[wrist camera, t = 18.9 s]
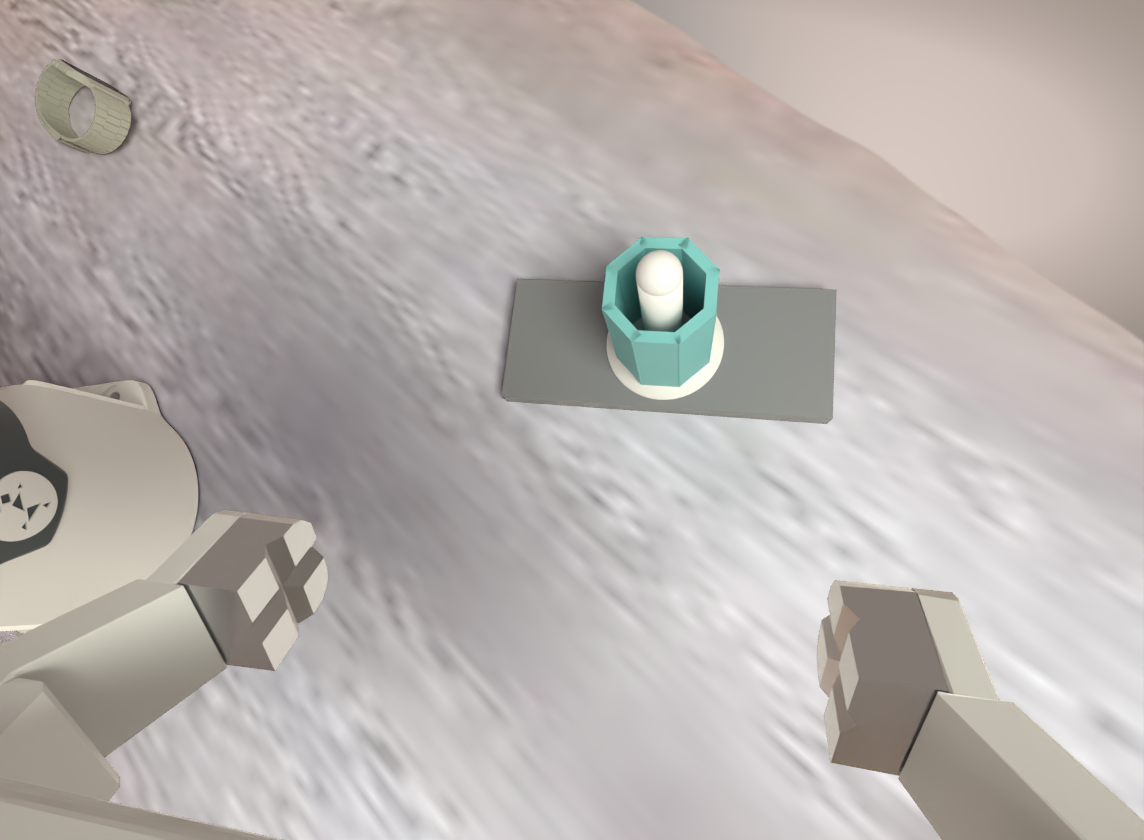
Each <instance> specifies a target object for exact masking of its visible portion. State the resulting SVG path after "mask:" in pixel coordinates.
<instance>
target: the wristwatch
mask: <svg viewBox="0 0 1144 840" xmlns="http://www.w3.org/2000/svg"><path fill="white" fill-rule="evenodd" d="M83 86H87V87H88V88H90V89H91V92H92V94H93V96H94V100H95V115H94V119H93V122H92V124H91V126H90V128H89V130H88V131H87V133H85V134H84V135H83V136H81V137H78V136H77V135H76V134H75V132H74V130H73V129H72V126H71V123H70V118H69V114H68V109H69V105H70V102H71V100H72V97H73V96H74V95H75V93H76V92H77V91H78V90H79V89H80V88H82V87H83ZM131 103H132V102H131V101H129V98H128V97H127V96H125V95H124V94H122V93H121V92H119V91H118V90H117V89H115V88H114V87H112V86H110V85H109V84H107V83H105V82H103V81H101V80H99V79H98V78H96V77H94V76H92V75H90V74H88V73H86V72H84V71H82V70H80V69H78V68H77V67H75V66H73V65H71V64H69V63H67V62H65V61H63V60H61V59H59V60H57V61H56V60H53V61H52V63H51V64H49V65H47V67H46V68H45V69H44V70H43V71H42V73H41V75H40V77H39V81H38V83H37V88H36V95H35V104H36V108H37V109H36V111H37V114H38V117H39V119H40V122H41V123H42V125H43V126H44V127H45V129H46V130H47V131H48V133H49V134H50V135H51V136H52V137H53V138H54V139H55V140H57V141H59V142H62V143H64V144H66V145H69V146H71V147H74V148H76V149H79V150H81V151H83V152H86V153H91V151H92V152H95V153H97V154H107V153H110V152H112V151H114V150H115V149H117V147H119V146H120V145H121V144H122V142H123V141H124V139H125V138H126V137H125V136H127V134H128V132H129V128H130V125H131V124H130V123H131V111H130V108H129V107H130V105H131Z"/></svg>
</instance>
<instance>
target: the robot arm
mask: <svg viewBox="0 0 1144 840" xmlns="http://www.w3.org/2000/svg"><path fill="white" fill-rule="evenodd" d="M119 397H120V399H119ZM118 399H119V400H118ZM197 508H198V480H197V474H196V469H195V466H194V462H193V459H192V457H191V454H190V452H189V450H188V448H187V446H186V445H185V443H184V441H183V440H182V439H181V437H180V436H179V435H178V434H177V432H176V431H175V430H174V429H173V428H172V427H171V426H170V425H169V424H168V423H167V422H166V421H165V420H164V419H163V417H162V416H161V414H160V411H159V407H158V404H157V401H156V398H155V395H154V393H153V391H152V389H151V388H150V386H149V385H148V384H146V383H144V382H139V381H134V380H125V381H118V382H111V383H104V384H97V385H90V386H83V387H76V388H67V387H63V386H59V385H55V384H50V383H46V382H41V381H35V380H27V381H25V382H24V383H23V384H22V385H9V386H4V387H0V631H12V630H16V631H19V632H21V633H23V634H22V635H19V636H17V637H15V638H13V639H11V640H9V641H7V642H5V643H3V644H1V645H0V840H283V839H278V838H274V837H269V836H265V835H260V834H256V833H251V832H246V831H242V830H237V829H233V828H228V827H224V826H219V825H215V824H210V823H205V822H201V821H196V820H192V819H187V818H183V817H178V816H174V815H169V814H164V813H160V812H155V811H151V810H146V809H142V808H137V807H132V806H128V805H123V804H119V803H114V802H110V801H109V800H110V799H111V798H112V796H113V795H114V794H115V792H116V791H117V790H118V788H119V787H120V777H119V775H118V774H117V773H116V772H115V770H114V769H113V768H112V767H111V765H110V764H109V763H108V762H107V760H106V759H105V758H104V757H106V756H107V755H109V754H110V753H111V752H113V751H114V750H115V749H117V748H118V747H119V746H121V745H122V744H123V743H125V742H126V741H128V740H129V739H130V738H132V737H133V736H134V735H136V734H137V733H138V732H140V731H141V730H143V729H144V728H145V727H147V726H148V725H149V724H151V723H152V722H153V721H155V720H156V719H158V718H159V717H160V716H162V715H163V714H164V713H166V712H167V711H168V710H170V709H171V708H173V707H174V706H175V705H177V704H178V703H179V702H181V701H182V700H183V699H185V698H186V697H188V696H189V695H190V694H192V693H193V692H194V691H196V690H197V689H198V688H200V687H201V686H202V685H204V684H205V683H207V682H208V681H209V680H211V679H212V678H213V677H215V676H216V675H217V674H219V673H220V672H222V671H223V670H224V669H226V668H227V666H226V665H234V666H242V667H249V668H257V669H264V670H272V671H275V670H276V669H277V667H278V666H279V664H280V663H281V662H282V660H283V659H284V657H285V656H286V654H287V653H288V651H289V650H290V648H291V647H292V645H293V644H294V642H295V641H296V639H297V638H298V636H299V634H298V623H300V622H301V621H303V620H304V619H306V618H308V617H309V616H311V615H312V614H314V612H315V611H316V609H317V608H318V606H319V605H320V603H321V601H322V600H323V597H324V594H325V590H326V587H327V584H328V568H327V565H326V562H325V559H324V557H323V556H322V555H321V554H319V553H318V552H317V551H316V550H315V549H314V548H313V547H312V546H313V544H314V542H315V541H316V539H317V537H316V534H315V532H314V529H313V527H312V525H311V523H309V522H306V521H303V520H298V519H291V518H284V517H277V516H270V515H263V514H256V513H245V512H238V511H231V510H222V511H219V512H216V513H214V514H212V515H211V516H210V517H209V518H208V519H207V520H206V521H205V522H204V523H203V524H202V525H201V526H200V527H199V528H198V529H197V530H196V531H195V532H194V533H193V534H192V531H193V528H194V524H195V520H196V515H197ZM191 534H192V535H191ZM827 600H828V606H829V612H830V615H829V616H827V617H826V618H824V619H823V620H822V621H821V626H820V630H819V635H818V645H817V669H818V678H819V685H820V688H821V689H822V690H823V691H824V692H825V694H826V695H827V696H828V697H829V700H828V703H827V707H826V710H825V714H824V721H825V727H826V734H827V741H828V747H829V754H830V761H831V763H836V764H841V765H846V766H851V767H857V768H862V769H867V770H872V771H878V772H883V773H888V774H893V775H899V778H898V779H899V780H900V782H901V783H902V785H903V786H904V787H905V789H906V790H907V792H908V793H909V794H910V796H911V797H912V799H913V800H914V801H915V803H916V804H917V806H918V807H919V808H920V810H921V811H922V812H923V814H924V815H925V817H926V818H927V819H928V821H929V822H930V824H931V825H932V826H933V828H934V829H935V831H936V832H937V833H938V835H939V836H940V838H941V839H942V840H1144V821H1143V820H1142V819H1141V818H1140V817H1139V816H1138V815H1137V814H1136V813H1135V812H1133V811H1132V810H1131V809H1130V808H1129V807H1128V806H1127V805H1126V804H1125V803H1124V802H1122V801H1121V800H1120V799H1119V798H1118V797H1117V796H1116V795H1115V794H1114V793H1112V792H1111V791H1110V790H1109V789H1108V788H1107V787H1106V786H1105V785H1104V784H1103V783H1101V782H1100V781H1099V780H1098V779H1097V778H1096V777H1095V776H1094V775H1093V774H1091V773H1090V772H1089V771H1088V770H1087V769H1086V768H1085V767H1084V766H1083V765H1082V764H1080V763H1079V762H1078V761H1077V760H1076V759H1075V758H1074V757H1073V756H1072V755H1070V754H1069V753H1068V752H1067V751H1066V750H1065V749H1064V748H1063V747H1062V746H1060V745H1059V744H1058V743H1057V742H1056V741H1055V740H1054V739H1053V738H1052V737H1051V736H1049V735H1048V734H1047V733H1046V732H1045V731H1044V730H1043V729H1042V728H1041V727H1039V726H1038V725H1037V724H1036V723H1035V722H1034V721H1033V720H1032V719H1031V718H1030V717H1028V716H1027V715H1026V714H1025V713H1024V712H1023V711H1022V710H1021V709H1020V708H1018V707H1017V706H1016V705H1015V704H1014V703H1012V702H1007V701H1001V700H999V697H998V695H997V692H996V690H995V687H994V685H993V682H992V680H991V678H990V675H989V673H988V670H987V668H986V665H985V663H984V660H983V658H982V655H981V653H980V650H979V648H978V645H977V643H976V641H975V638H974V636H973V633H972V631H971V628H970V626H969V623H968V621H967V618H966V616H965V613H964V611H963V608H962V606H961V604H960V601H959V599H958V598H957V597H956V596H955V595H954V594H953V593H952V592H943V591H933V590H923V589H914V588H912V589H909V588H905V587H895V586H885V585H876V584H866V583H857V582H847V581H837V580H835V581H834V582H833V584H832V585H831V587H830V591H829V595H828V598H827Z"/></svg>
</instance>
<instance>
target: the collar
mask: <svg viewBox="0 0 1144 840" xmlns="http://www.w3.org/2000/svg"><path fill="white" fill-rule="evenodd" d="M656 250H664V251H668V252H670V253H672V254H674V255H675V256H676V257H677V258H678V259H679V261H680V263H681V265H682V268H683V311H684V312H685V314H686V315H687V316H688V317H689V318H690V320H689V321H688V322H687V323H686V324H684V325H683V326H682V327H681V328H680V329H678V330H677V331H676V332H662V331H640V330H637V329H636V328H635V327H634V326H633V324H634V323H635V322H636V321H638V320H639V319H640V318H641V317H642V313H641V307H640V301H639V294H638V288H637V282H636V269H637V266H638V264H639V262H640V260H641V259H642V258H643V257H644V256H645V255H646V254H648V253H650V252H652V251H656ZM719 272H720V270H719V268H717V267H716V266H715V265H714V264H713V263H712V262H711V261H710V260H709V259H708V258H707V257H706V256H705V255H704V254H703V253H702V252H701V251H700V250H699V249H698V248H697V247H696V246H695V245H694V244H693V243H692V242H691V241H690V240H689V238H664V237H641V238H640V239H639V240H637V241H636V242H635V243H634V244H633V245H631V246H630V247H629V248H628V249H627V250H625V251H624V252H623V253H622V254H621V255H619V256H618V257H617V258H616V259H614V260H613V261H612V262H611V263H610V264H608V265H607V266H606V276H605V285H604V295H603V304H602V308H601V309H602V312H603V315H604V318H605V321H606V324H607V328H608V331H609V334H610V337H611V340H612V343H613V347H614V350H615V353H616V356H617V358H618V359H619V360H620V361H621V363H622V364H623V365H624V366H625V367H626V368H627V369H628V370H629V372H630V373H631V374H632V375H633V376H634V377H635V378H636V379H637V381H638V382H639V383H640V384H641V385H652V386H668V387H680V386H682V385H683V384H684V383H685V382H687V381H688V380H689V379H690V378H691V377H693V376H694V375H695V374H696V373H697V372H699V371H700V370H701V369H702V368H703V367H705V366H706V365H707V364H708V363H709V362H710V356H711V349H712V342H713V336H714V329H715V322H716V315H717V313H716V309H717V294H718V280H719Z"/></svg>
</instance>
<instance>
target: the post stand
mask: <svg viewBox="0 0 1144 840" xmlns="http://www.w3.org/2000/svg"><path fill="white" fill-rule="evenodd" d="M636 282H637V288H638V294H639V301H640V307H641V313H642V317H641V318H640V319H639V320H638V321H636V322H635V323H634V324H633V326H634V327H635V328H636V329H637V330H640V331H662V332H676V331H677V330H678V329H680V328H681V327H682V326H683V325H684V324H686V323H687V322H688V321H689V320H690V318H689V317H688V316H687V315H686V314H685V312H684V311H683V268H682V265H681V263H680V261H679V259H678V258H677V257H676V256H675V255H674V254H672V253H670V252H668V251H664V250H656V251H652V252H650V253H648V254H646V255H645V256H644V257H643V258H642V259H641V260H640V262H639V264H638V266H637V269H636ZM604 285H605V282H595V281H565V280H535V279H517V286H516V293H515V300H514V308H513V315H512V322H511V330H510V337H509V344H508V352H507V359H506V367H505V374H504V381H503V389H502V397H504V398H505V399H506V400H507V401H511V402H525V403H539V404H553V405H567V406H582V407H596V408H610V409H624V410H638V411H652V412H666V413H681V414H695V415H709V416H723V417H737V418H751V419H765V420H780V421H794V422H808V423H822V424H827V423H828V422H829V421H830V420H831V419H833V386H834V353H835V320H836V290H833V289H803V288H774V287H744V286H718V294H717V309H716V313H717V315H716V322H715V329H714V336H713V342H712V349H711V356H710V362H709V363H708V364H707V365H706V366H705V367H703V368H702V369H701V370H700V371H699V372H697V373H696V374H695V375H694V376H693V377H691V378H690V379H689V380H688V381H687V382H685V383H684V384H683V385H682V386H680V387H668V386H652V385H641V384H640V383H639V382H638V381H637V379H636V378H635V377H634V376H633V375H632V374H631V373H630V372H629V370H628V369H627V368H626V367H625V366H624V365H623V364H622V363H621V361H620V360H619V359H618V358H617V356H616V353H615V350H614V347H613V343H612V340H611V337H610V334H609V331H608V328H607V324H606V321H605V318H604V315H603V312H602V309H601V308H602V304H603V295H604Z"/></svg>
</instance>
